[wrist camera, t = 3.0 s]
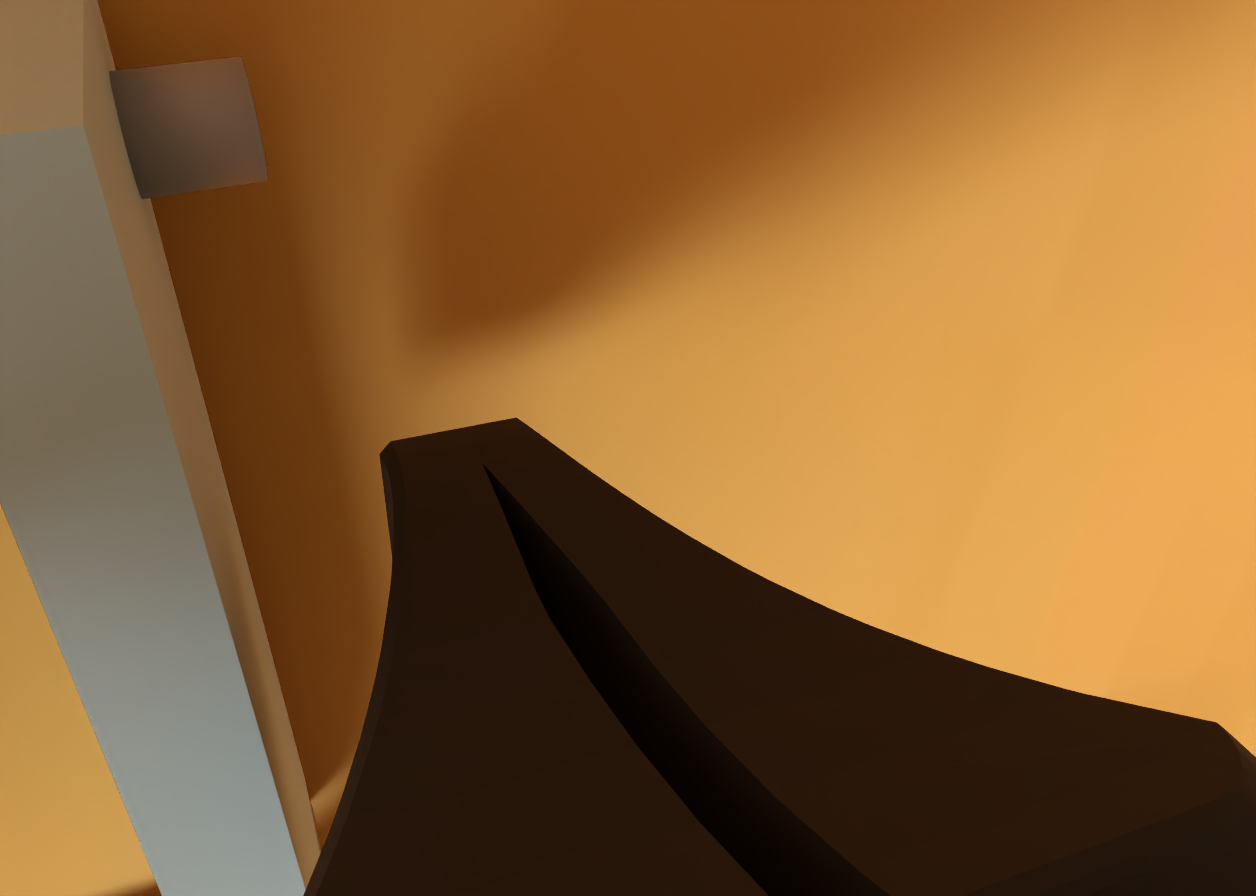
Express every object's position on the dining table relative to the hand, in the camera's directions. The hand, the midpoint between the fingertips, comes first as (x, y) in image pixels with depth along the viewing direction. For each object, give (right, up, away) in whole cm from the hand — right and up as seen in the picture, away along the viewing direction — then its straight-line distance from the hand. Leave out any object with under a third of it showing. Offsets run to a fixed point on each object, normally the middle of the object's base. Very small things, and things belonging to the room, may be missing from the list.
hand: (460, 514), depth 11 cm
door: (-3, 0, +2) cm, 3 cm away
